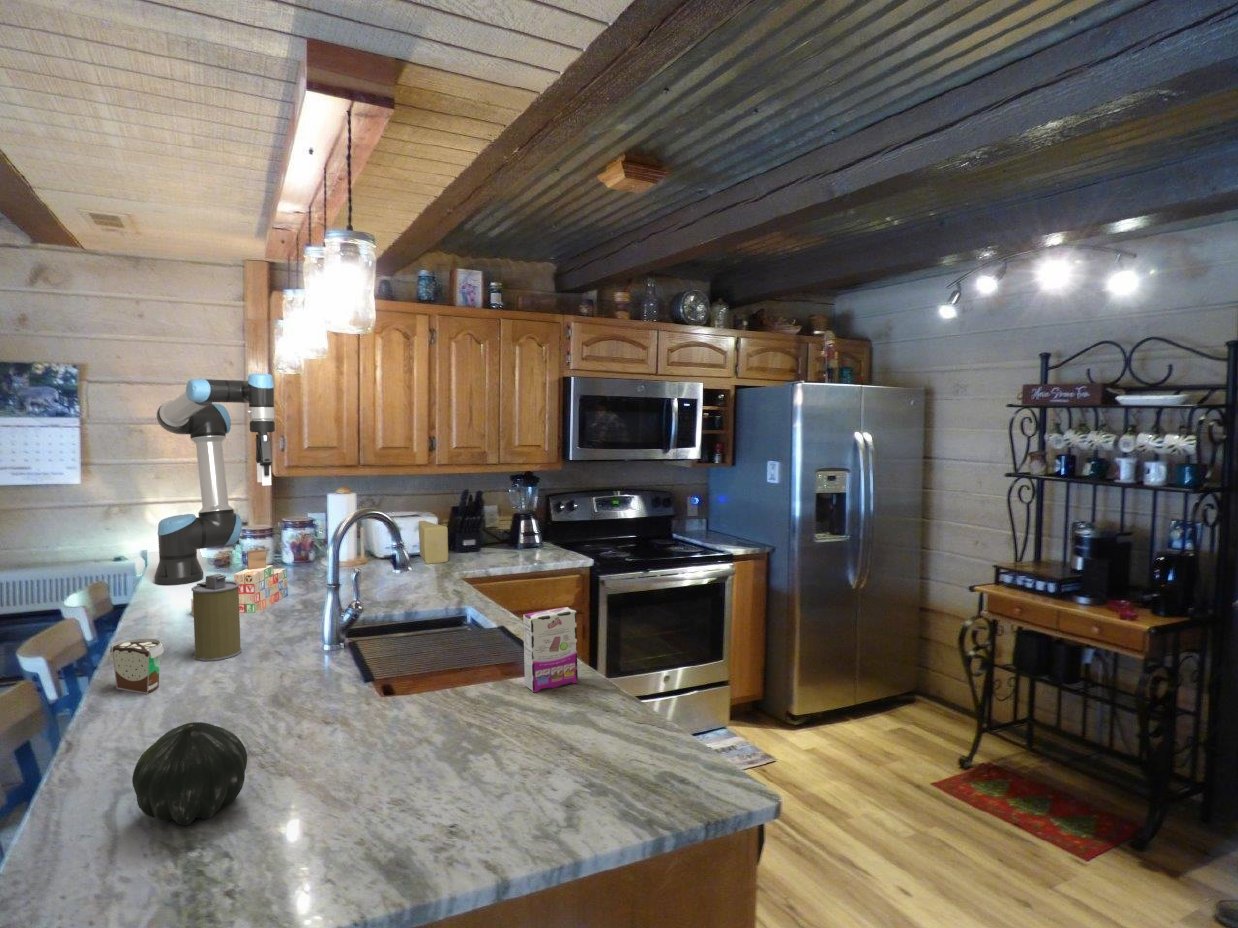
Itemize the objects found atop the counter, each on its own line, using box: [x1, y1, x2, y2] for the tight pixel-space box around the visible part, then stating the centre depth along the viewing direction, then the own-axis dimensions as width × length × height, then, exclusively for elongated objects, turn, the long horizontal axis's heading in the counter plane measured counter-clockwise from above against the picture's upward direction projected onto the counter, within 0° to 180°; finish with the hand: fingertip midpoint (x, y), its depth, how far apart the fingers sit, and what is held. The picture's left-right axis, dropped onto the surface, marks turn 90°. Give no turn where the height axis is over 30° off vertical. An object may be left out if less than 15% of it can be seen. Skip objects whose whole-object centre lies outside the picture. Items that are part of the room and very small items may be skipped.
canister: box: [190, 573, 243, 662], centre depth 181 cm, size 11×10×20 cm
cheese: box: [418, 520, 449, 565], centre depth 302 cm, size 22×10×15 cm, turn 31°
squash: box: [131, 721, 248, 826], centre depth 110 cm, size 14×15×15 cm
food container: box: [109, 637, 165, 695], centre depth 160 cm, size 12×6×10 cm, turn 71°
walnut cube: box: [246, 548, 267, 569], centre depth 228 cm, size 5×5×5 cm
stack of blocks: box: [233, 564, 289, 614], centre depth 230 cm, size 21×6×12 cm, turn 0°
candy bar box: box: [522, 606, 579, 693], centre depth 161 cm, size 11×5×16 cm, turn 122°
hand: (264, 483), depth 244 cm, fingers open, 13 cm apart
